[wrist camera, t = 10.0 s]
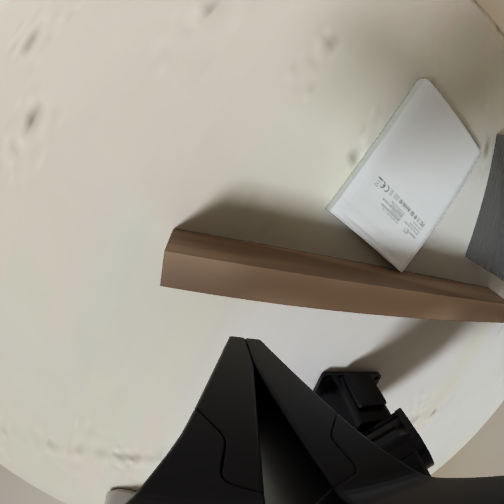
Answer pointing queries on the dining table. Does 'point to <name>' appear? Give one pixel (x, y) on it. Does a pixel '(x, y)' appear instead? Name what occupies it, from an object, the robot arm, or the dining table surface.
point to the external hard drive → (407, 176)
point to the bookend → (491, 219)
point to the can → (118, 496)
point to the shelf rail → (318, 281)
